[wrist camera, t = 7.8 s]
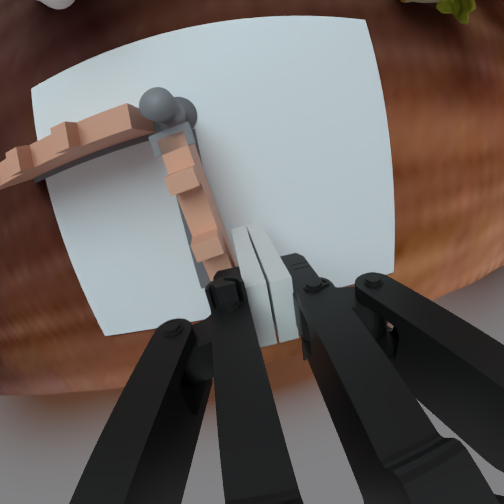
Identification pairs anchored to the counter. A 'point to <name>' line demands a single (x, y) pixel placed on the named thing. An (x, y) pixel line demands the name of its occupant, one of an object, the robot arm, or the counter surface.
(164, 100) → the fence fixed
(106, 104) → the card
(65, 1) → the mug
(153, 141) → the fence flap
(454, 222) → the counter surface
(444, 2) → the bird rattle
